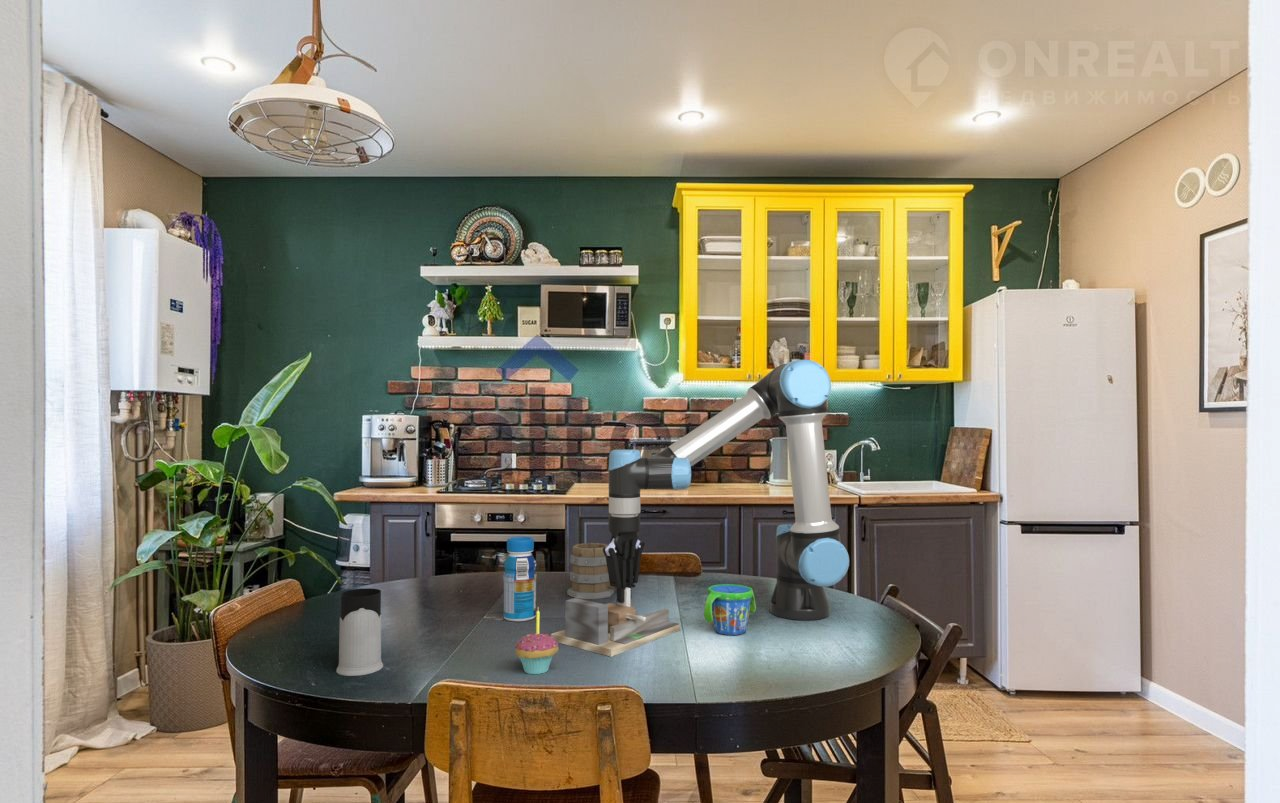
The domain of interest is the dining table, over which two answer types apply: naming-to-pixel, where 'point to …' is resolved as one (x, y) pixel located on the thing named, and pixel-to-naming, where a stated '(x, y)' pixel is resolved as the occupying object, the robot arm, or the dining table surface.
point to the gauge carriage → (621, 614)
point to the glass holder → (360, 632)
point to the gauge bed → (591, 628)
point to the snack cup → (729, 608)
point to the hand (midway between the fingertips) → (624, 615)
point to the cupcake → (536, 650)
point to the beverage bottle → (520, 580)
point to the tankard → (589, 572)
